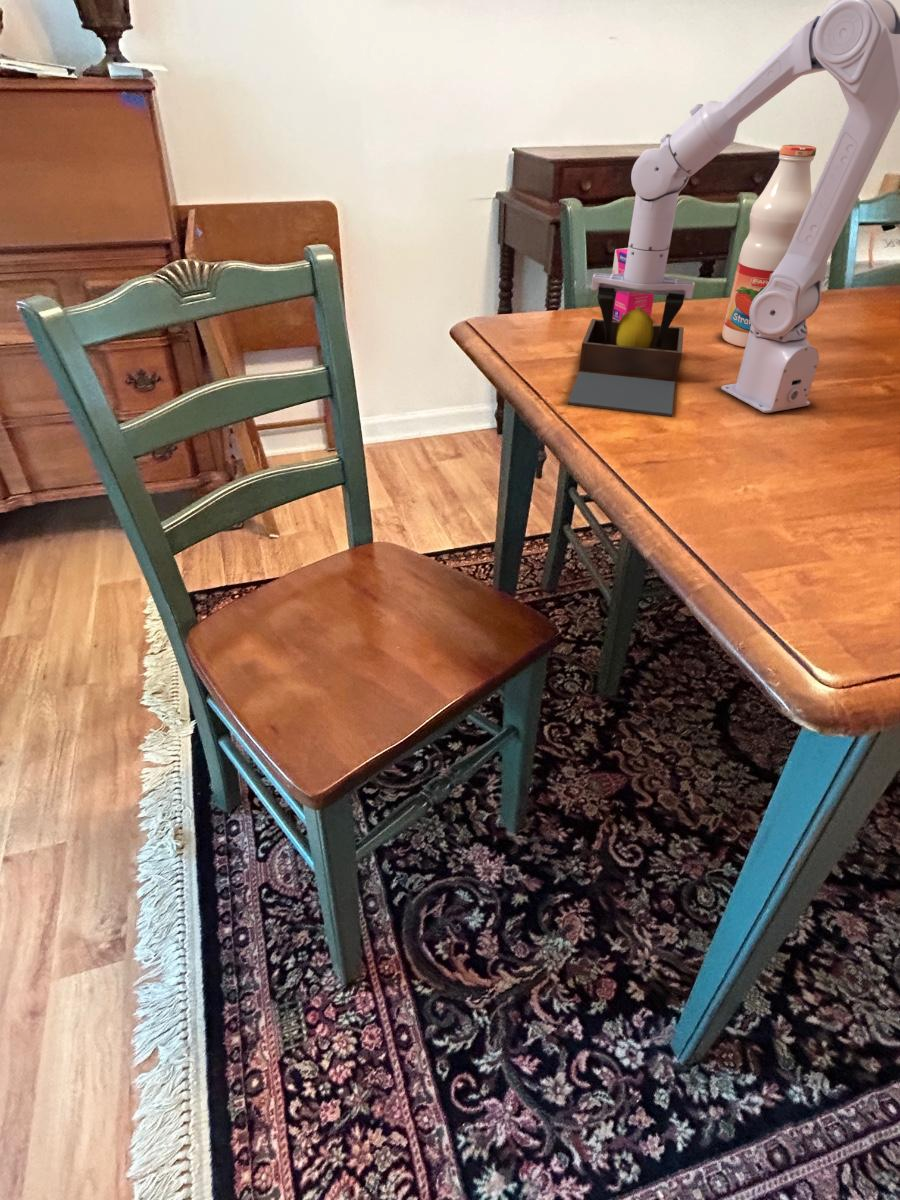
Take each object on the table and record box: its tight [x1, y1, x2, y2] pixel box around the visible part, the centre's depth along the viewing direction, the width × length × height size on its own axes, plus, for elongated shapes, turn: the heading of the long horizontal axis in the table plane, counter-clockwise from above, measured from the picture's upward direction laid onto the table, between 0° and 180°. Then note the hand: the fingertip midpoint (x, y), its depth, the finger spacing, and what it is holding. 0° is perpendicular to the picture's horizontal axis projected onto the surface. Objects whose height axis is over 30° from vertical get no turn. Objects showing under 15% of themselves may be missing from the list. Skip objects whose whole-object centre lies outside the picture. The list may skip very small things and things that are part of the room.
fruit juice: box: [721, 144, 817, 348], centre depth 116 cm, size 9×9×28 cm
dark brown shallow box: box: [578, 318, 685, 383], centre depth 114 cm, size 14×12×4 cm
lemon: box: [616, 308, 654, 348], centre depth 113 cm, size 6×6×8 cm
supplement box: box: [611, 247, 655, 321], centre depth 130 cm, size 6×6×12 cm
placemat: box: [567, 371, 676, 417], centre depth 105 cm, size 14×12×1 cm
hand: (633, 342), depth 114 cm, fingers open, 7 cm apart
